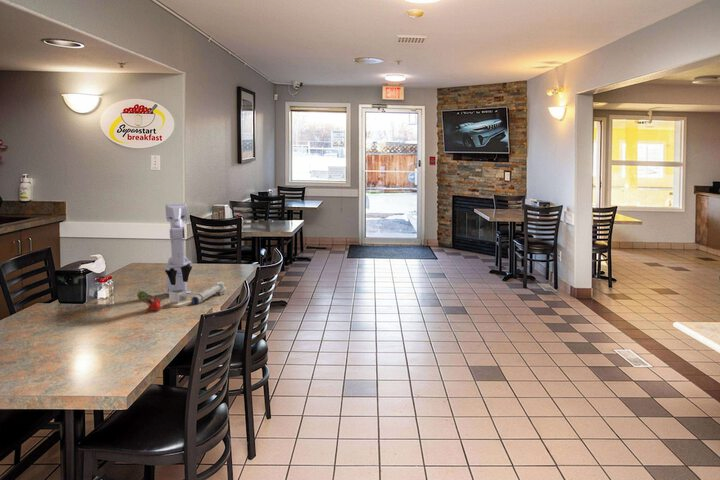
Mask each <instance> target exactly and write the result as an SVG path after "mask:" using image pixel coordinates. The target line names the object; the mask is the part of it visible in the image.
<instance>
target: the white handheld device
mask: <svg viewBox="0 0 720 480" xmlns="http://www.w3.org/2000/svg"><path fill="white" fill-rule="evenodd" d="M214 294H215V296H222V295H226V294H227V287H226V286H225V283H224V281H218V282H216V284H215V285H213V286H211V287H209V288H207V289H206V290H204V291H201V292H199V293H196V294H195V295H194V296H193V297H191V300H190V301H192V304H193V305H199V304H202V303H203V302H204V301H205V300H206V299H209V297H211V296H213V295H214Z"/></svg>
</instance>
